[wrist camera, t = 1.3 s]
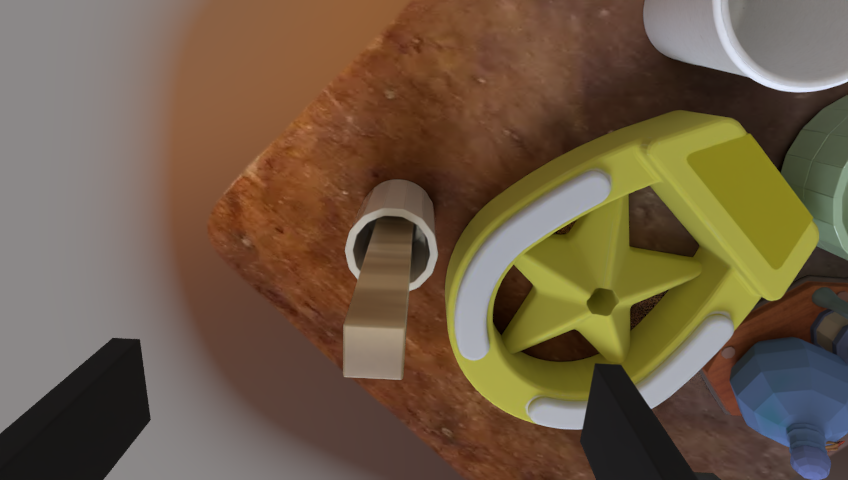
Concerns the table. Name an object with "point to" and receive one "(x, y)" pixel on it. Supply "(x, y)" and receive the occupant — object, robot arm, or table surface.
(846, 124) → the bowl
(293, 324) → the table surface
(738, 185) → the toy steering wheel
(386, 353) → the stick
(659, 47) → the dixie cup
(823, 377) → the model
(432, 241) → the holder
